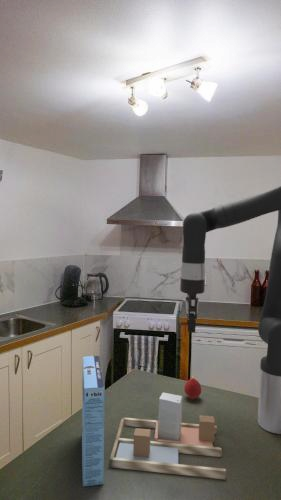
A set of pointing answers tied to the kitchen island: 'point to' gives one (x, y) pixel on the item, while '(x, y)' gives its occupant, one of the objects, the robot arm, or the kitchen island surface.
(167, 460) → the strip empty
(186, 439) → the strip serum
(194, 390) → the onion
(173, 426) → the skincare box
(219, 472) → the lane rails
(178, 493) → the kitchen island surface
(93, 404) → the light blue flat box
